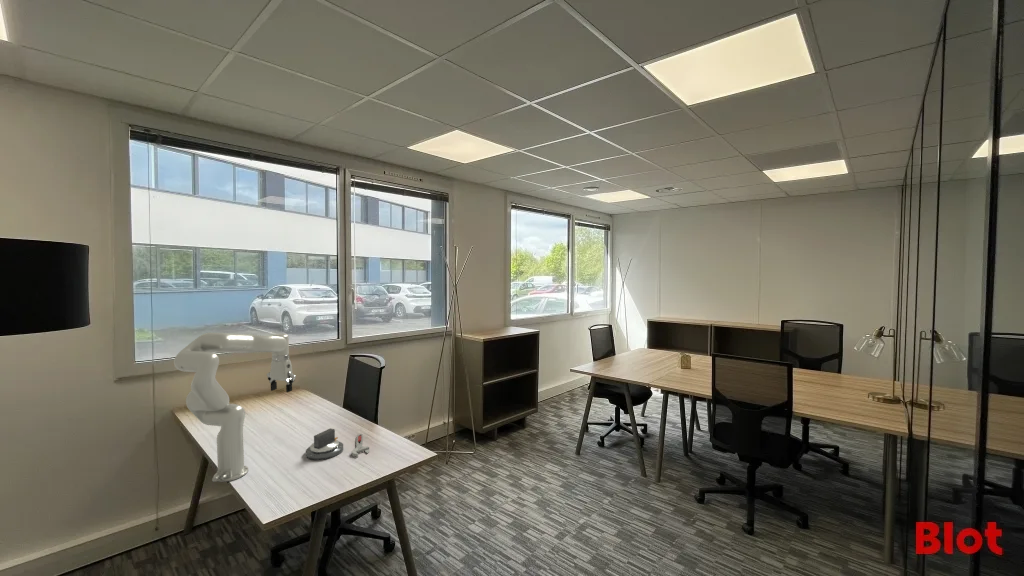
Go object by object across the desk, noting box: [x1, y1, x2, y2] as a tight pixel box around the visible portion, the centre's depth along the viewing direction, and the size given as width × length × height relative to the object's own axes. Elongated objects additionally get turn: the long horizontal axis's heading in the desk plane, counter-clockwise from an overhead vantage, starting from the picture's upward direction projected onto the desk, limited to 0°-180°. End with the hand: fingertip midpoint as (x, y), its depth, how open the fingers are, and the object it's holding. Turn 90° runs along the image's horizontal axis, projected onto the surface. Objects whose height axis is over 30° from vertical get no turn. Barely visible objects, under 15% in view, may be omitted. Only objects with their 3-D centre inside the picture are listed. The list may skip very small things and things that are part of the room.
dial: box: [309, 428, 340, 453], centre depth 198 cm, size 14×13×8 cm
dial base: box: [305, 441, 344, 461], centre depth 197 cm, size 17×17×2 cm
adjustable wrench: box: [351, 433, 370, 458], centre depth 205 cm, size 8×26×2 cm, turn 14°
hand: (281, 390), depth 205 cm, fingers open, 9 cm apart
